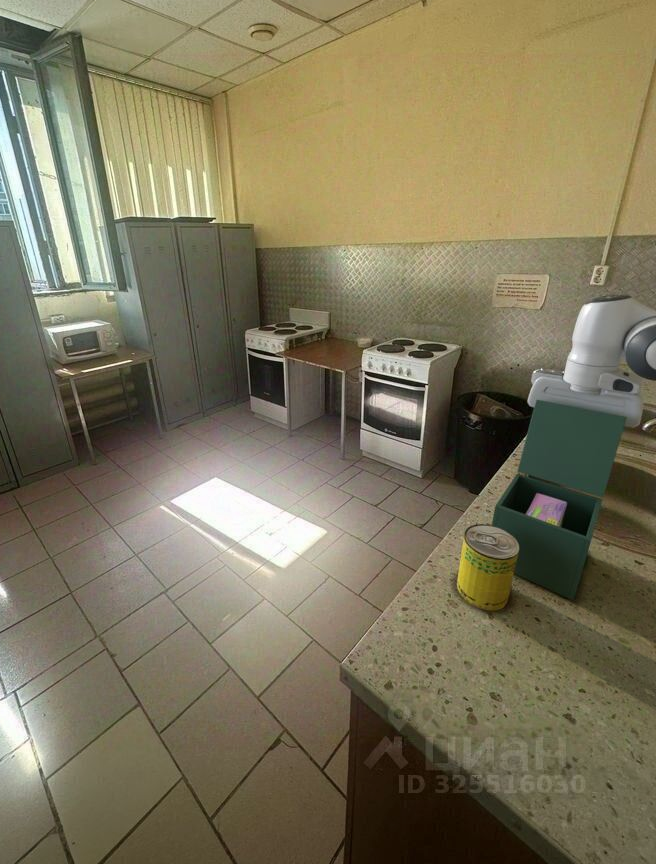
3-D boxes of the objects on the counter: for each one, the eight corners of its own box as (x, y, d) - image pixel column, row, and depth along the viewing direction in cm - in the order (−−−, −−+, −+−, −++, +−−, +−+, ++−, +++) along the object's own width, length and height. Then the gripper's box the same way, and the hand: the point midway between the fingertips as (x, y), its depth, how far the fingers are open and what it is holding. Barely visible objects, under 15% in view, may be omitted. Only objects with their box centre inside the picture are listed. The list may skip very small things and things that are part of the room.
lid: (626, 416, 77) (626, 416, 77) (536, 399, 86) (537, 399, 87) (603, 497, 78) (603, 497, 79) (517, 471, 88) (517, 471, 89)
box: (526, 536, 88) (536, 492, 84) (556, 548, 84) (568, 502, 80) (514, 563, 81) (524, 516, 76) (546, 577, 77) (558, 528, 73)
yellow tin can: (512, 615, 70) (524, 563, 66) (458, 604, 73) (466, 552, 69) (503, 577, 78) (513, 528, 74) (455, 568, 81) (462, 520, 77)
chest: (573, 600, 73) (591, 540, 68) (485, 560, 83) (495, 505, 78) (586, 553, 84) (602, 499, 79) (507, 523, 94) (517, 473, 89)
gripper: (530, 369, 87) (519, 426, 92) (651, 388, 74) (631, 452, 79) (537, 363, 91) (526, 417, 96) (652, 379, 78) (633, 441, 83)
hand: (574, 433), depth 88 cm, fingers closed
